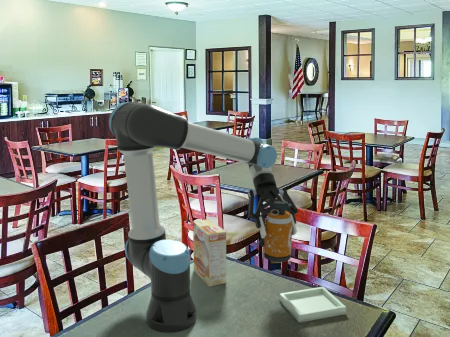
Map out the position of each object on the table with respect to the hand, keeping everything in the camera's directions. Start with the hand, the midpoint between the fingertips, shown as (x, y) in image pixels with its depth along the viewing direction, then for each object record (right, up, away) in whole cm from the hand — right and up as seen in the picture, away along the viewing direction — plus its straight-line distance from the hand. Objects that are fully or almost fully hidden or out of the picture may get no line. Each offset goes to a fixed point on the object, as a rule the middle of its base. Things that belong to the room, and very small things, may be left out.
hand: (279, 235), depth 149 cm
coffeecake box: (-23, -18, +18) cm, 35 cm away
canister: (-1, -9, +5) cm, 10 cm away
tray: (+10, -23, -3) cm, 25 cm away
